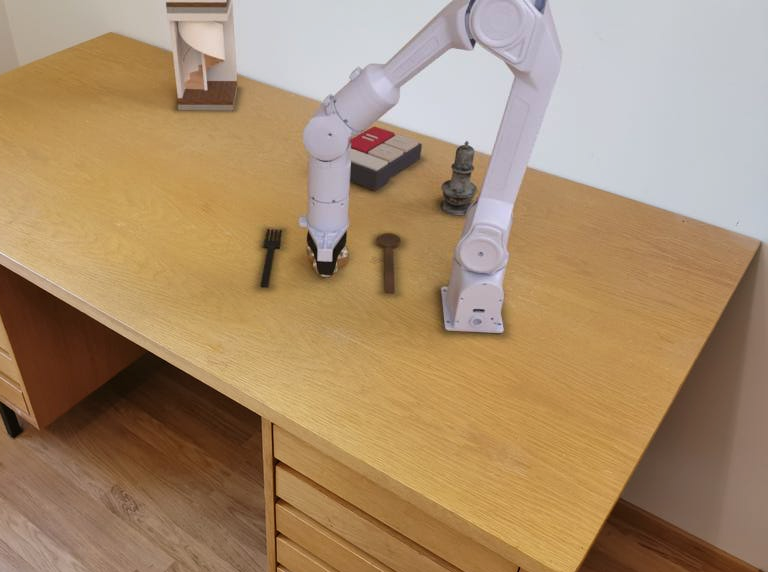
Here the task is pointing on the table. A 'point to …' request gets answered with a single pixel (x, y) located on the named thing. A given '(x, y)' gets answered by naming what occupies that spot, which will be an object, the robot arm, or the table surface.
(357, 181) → the calculator
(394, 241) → the brown disc-ended stick
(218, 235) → the table surface
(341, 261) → the ornament
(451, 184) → the grey stone chess piece
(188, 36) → the spiral staircase model
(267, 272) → the black fork
